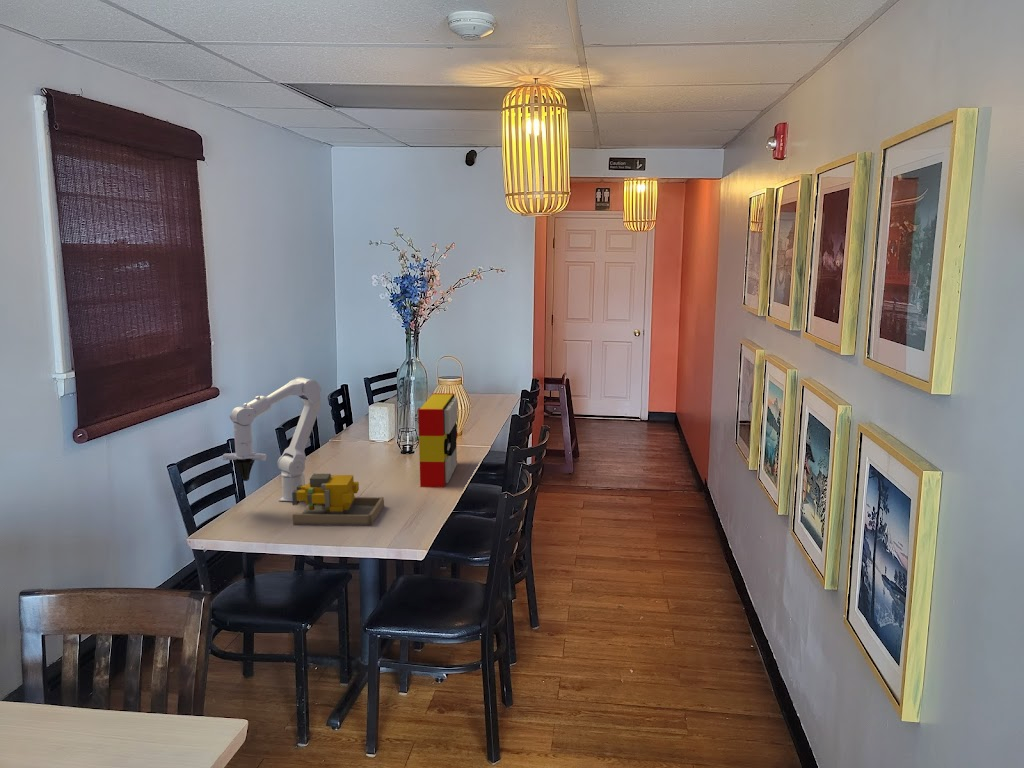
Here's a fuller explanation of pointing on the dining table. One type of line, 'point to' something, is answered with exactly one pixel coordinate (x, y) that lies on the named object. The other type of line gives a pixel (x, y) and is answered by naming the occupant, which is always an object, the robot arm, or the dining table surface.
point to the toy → (328, 493)
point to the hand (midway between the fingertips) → (246, 480)
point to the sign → (437, 439)
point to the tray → (358, 515)
